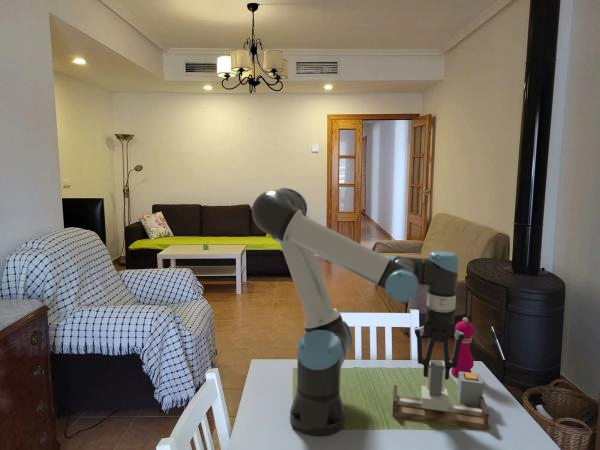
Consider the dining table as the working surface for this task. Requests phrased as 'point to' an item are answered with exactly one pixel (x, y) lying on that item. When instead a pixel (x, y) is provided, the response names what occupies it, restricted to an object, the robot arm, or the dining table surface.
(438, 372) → the carriage
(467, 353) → the pepper mill
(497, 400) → the dining table surface
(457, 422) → the rail board
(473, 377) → the button
